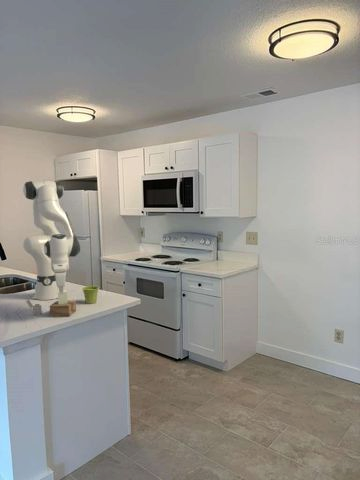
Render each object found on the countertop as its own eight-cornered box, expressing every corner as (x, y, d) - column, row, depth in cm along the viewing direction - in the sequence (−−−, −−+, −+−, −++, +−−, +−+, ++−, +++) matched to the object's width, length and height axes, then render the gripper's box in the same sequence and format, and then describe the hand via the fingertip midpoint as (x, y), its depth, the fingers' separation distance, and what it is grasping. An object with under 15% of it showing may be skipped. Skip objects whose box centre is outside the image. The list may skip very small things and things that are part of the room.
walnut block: (58, 311, 194) (57, 300, 193) (76, 311, 193) (75, 300, 192) (50, 317, 184) (49, 305, 183) (69, 317, 183) (68, 305, 182)
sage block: (58, 302, 189) (57, 291, 189) (67, 301, 191) (66, 290, 190) (58, 304, 185) (57, 293, 185) (67, 303, 187) (67, 292, 186)
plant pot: (90, 299, 215) (90, 285, 214) (102, 301, 210) (102, 287, 210) (79, 303, 207) (78, 288, 206) (91, 305, 202) (90, 290, 202)
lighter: (41, 312, 190) (40, 298, 189) (41, 313, 189) (40, 299, 188) (27, 314, 188) (26, 299, 187) (27, 315, 186) (26, 300, 185)
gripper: (53, 262, 195) (55, 287, 197) (53, 269, 176) (54, 297, 177) (66, 262, 197) (67, 286, 199) (66, 268, 178) (68, 296, 179)
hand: (61, 291), depth 188 cm, fingers open, 8 cm apart
